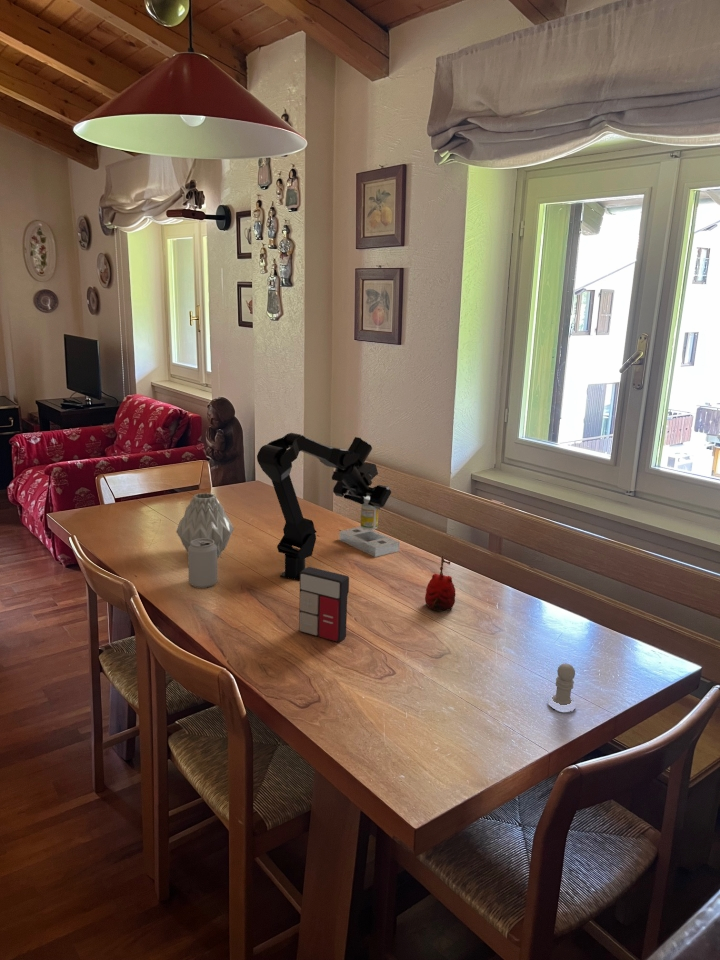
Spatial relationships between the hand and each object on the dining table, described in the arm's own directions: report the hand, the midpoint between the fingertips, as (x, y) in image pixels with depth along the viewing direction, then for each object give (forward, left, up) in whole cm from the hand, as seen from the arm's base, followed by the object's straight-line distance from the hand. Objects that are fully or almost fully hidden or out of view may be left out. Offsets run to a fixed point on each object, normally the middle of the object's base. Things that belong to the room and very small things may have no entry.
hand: (372, 506), depth 220 cm
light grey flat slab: (-1, 0, -13) cm, 13 cm away
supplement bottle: (-1, 0, -7) cm, 7 cm away
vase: (-29, +42, -13) cm, 53 cm away
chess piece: (-72, -62, -13) cm, 96 cm away
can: (-47, +32, -13) cm, 58 cm away
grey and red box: (-62, -8, -13) cm, 64 cm away
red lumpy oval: (-37, -30, -13) cm, 50 cm away
